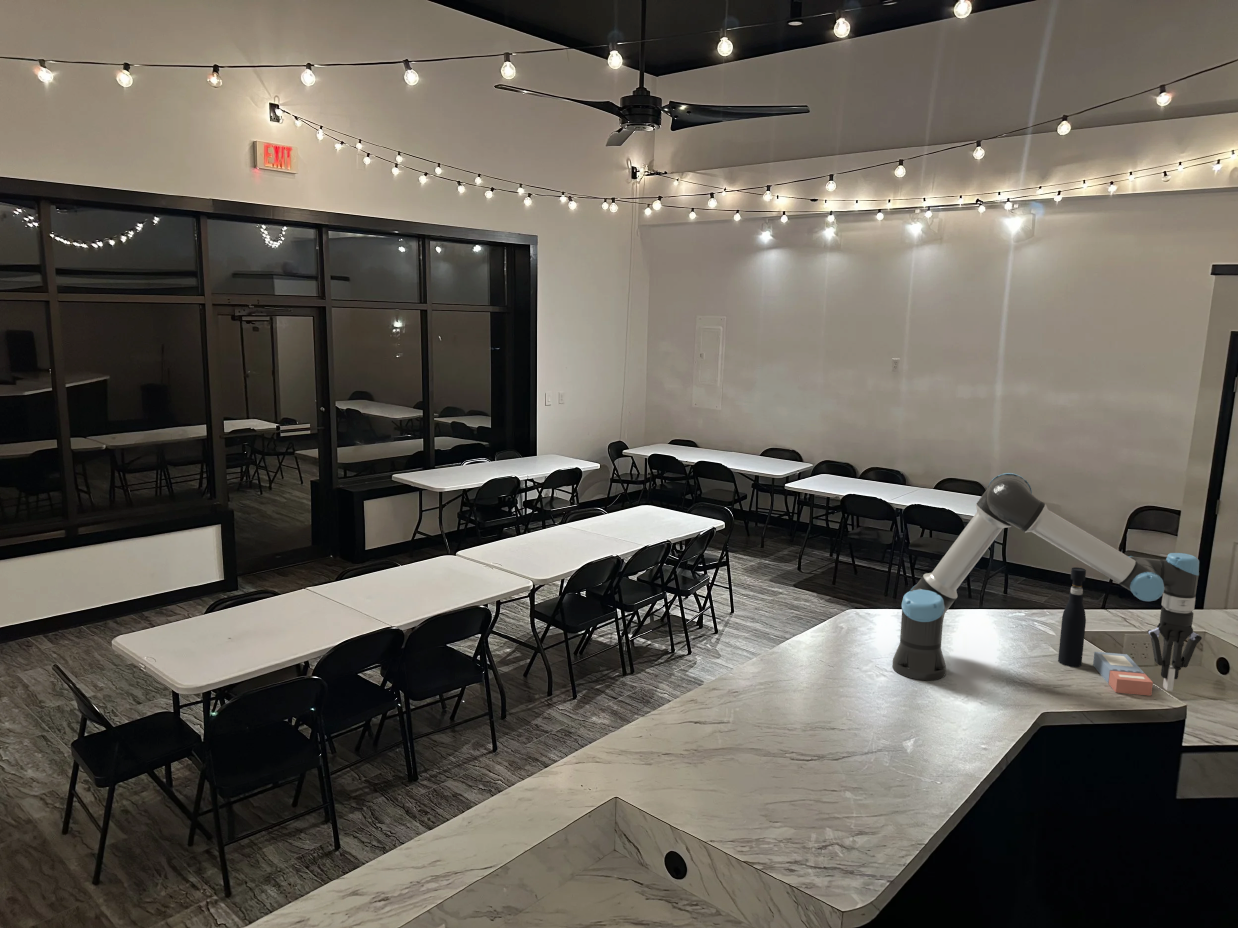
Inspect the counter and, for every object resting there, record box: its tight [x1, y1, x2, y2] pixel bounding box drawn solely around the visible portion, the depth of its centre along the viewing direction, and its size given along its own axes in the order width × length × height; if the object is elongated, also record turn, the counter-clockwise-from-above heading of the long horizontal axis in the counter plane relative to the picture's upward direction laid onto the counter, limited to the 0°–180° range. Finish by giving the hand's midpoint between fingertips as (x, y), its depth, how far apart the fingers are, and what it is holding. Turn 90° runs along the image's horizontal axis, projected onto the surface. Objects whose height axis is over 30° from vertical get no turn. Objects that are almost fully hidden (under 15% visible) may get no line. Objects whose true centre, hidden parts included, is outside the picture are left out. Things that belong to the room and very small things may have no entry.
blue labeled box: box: [1092, 651, 1145, 685], centre depth 245 cm, size 9×14×4 cm, turn 166°
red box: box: [1108, 671, 1154, 697], centre depth 235 cm, size 9×6×4 cm, turn 76°
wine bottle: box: [1057, 566, 1087, 668], centre depth 252 cm, size 6×6×30 cm
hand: (1167, 688), depth 233 cm, fingers closed
